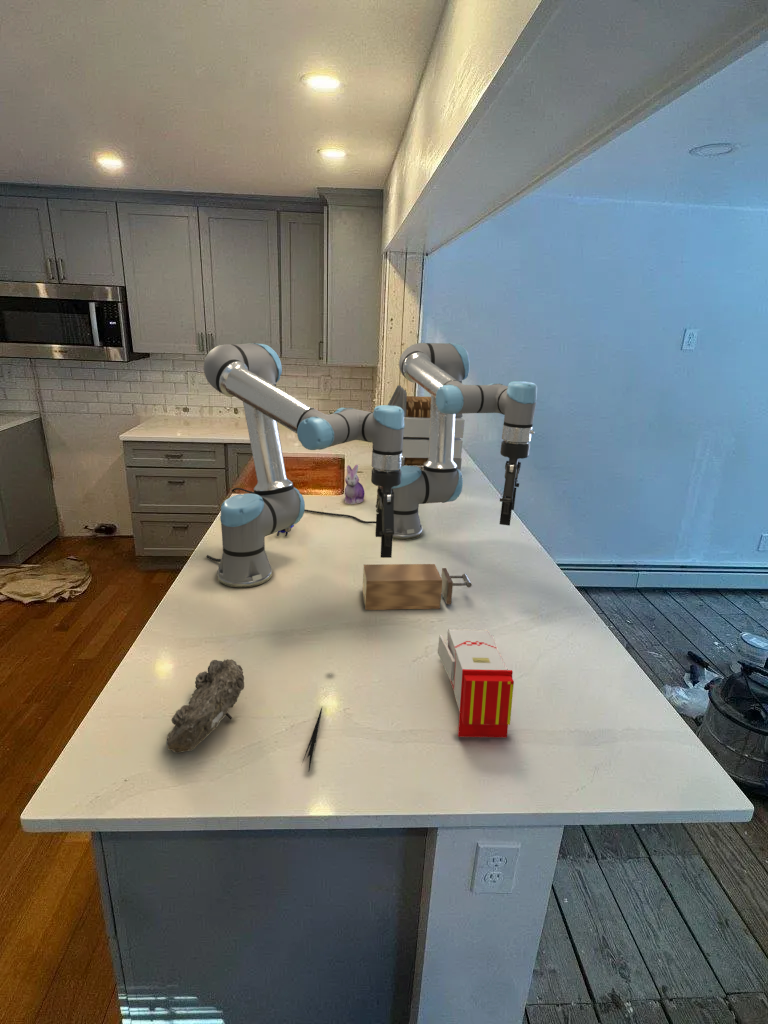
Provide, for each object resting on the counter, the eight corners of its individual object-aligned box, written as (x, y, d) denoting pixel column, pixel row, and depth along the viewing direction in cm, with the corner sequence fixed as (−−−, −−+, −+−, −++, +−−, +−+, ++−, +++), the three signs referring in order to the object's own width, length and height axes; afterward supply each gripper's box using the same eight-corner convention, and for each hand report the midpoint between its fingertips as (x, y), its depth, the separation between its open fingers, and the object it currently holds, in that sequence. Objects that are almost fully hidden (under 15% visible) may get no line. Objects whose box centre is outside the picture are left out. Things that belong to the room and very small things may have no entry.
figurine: (348, 506, 225) (349, 469, 220) (338, 498, 233) (339, 463, 228) (369, 503, 229) (371, 467, 224) (359, 496, 237) (360, 461, 232)
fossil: (192, 660, 117) (244, 628, 112) (224, 691, 120) (276, 661, 115) (142, 746, 98) (202, 712, 93) (182, 779, 101) (242, 748, 96)
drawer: (463, 588, 160) (466, 567, 158) (471, 604, 152) (474, 582, 150) (378, 589, 158) (379, 568, 155) (381, 605, 149) (382, 583, 147)
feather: (331, 679, 122) (336, 673, 122) (307, 777, 96) (313, 769, 95) (324, 675, 122) (329, 669, 121) (298, 772, 95) (304, 764, 95)
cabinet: (432, 591, 160) (435, 563, 157) (439, 608, 151) (442, 580, 148) (362, 592, 158) (363, 564, 155) (365, 610, 149) (366, 580, 146)
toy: (488, 613, 130) (523, 677, 101) (484, 667, 133) (517, 744, 104) (435, 612, 130) (455, 676, 101) (432, 666, 133) (451, 743, 103)
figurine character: (291, 542, 192) (296, 522, 205) (290, 522, 188) (296, 503, 202) (271, 542, 191) (278, 521, 205) (270, 522, 188) (277, 502, 201)
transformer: (382, 463, 289) (386, 382, 275) (445, 464, 293) (451, 384, 279) (390, 482, 257) (394, 392, 243) (460, 483, 261) (468, 394, 247)
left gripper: (408, 483, 131) (403, 566, 138) (395, 456, 154) (391, 528, 161) (376, 482, 130) (373, 566, 137) (367, 455, 153) (365, 528, 161)
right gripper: (527, 453, 138) (517, 533, 145) (532, 434, 161) (523, 504, 168) (496, 449, 140) (488, 529, 147) (505, 431, 163) (497, 501, 170)
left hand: (383, 546), depth 149 cm, fingers open, 13 cm apart
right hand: (506, 516), depth 158 cm, fingers open, 13 cm apart
